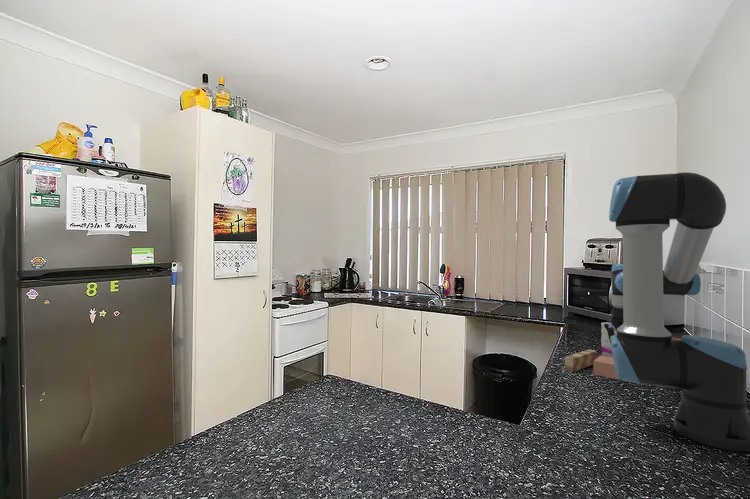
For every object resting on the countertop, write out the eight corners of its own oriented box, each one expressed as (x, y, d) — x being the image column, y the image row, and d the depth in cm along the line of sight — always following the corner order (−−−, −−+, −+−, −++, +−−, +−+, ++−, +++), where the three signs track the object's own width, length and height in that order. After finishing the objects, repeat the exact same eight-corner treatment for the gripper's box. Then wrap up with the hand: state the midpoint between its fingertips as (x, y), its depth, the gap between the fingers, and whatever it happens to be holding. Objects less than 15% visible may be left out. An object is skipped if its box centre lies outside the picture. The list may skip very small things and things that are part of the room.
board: (572, 372, 139) (572, 358, 140) (564, 370, 142) (564, 357, 142) (596, 363, 151) (596, 350, 151) (588, 361, 153) (588, 349, 153)
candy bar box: (637, 368, 143) (636, 326, 143) (629, 370, 141) (628, 327, 141) (608, 361, 153) (608, 321, 154) (600, 362, 151) (600, 322, 151)
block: (619, 379, 132) (618, 365, 132) (593, 374, 137) (593, 361, 137) (625, 373, 139) (625, 359, 139) (600, 368, 144) (600, 355, 144)
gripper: (649, 308, 131) (650, 375, 131) (609, 303, 142) (610, 366, 142) (640, 310, 127) (641, 379, 127) (600, 305, 137) (600, 369, 137)
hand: (625, 372), depth 134 cm, fingers closed
